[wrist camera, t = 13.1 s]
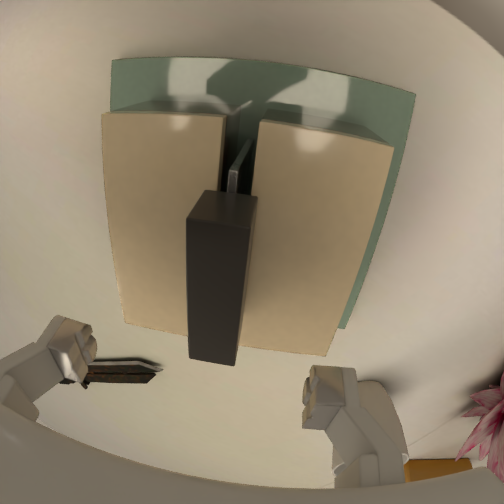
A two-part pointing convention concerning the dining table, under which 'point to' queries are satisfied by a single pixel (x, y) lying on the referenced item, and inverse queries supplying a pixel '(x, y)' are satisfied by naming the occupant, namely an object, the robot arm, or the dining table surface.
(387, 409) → the cup
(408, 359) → the dining table surface
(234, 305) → the metal bench scraper
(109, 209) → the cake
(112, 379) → the knife
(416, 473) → the bread
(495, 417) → the decorative flower
